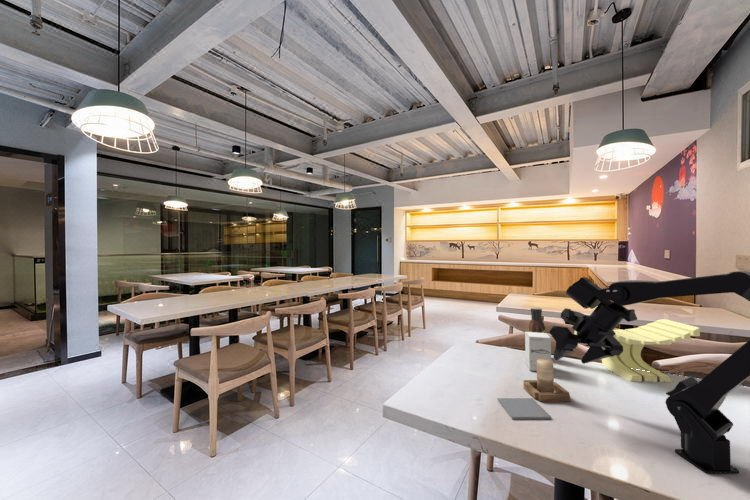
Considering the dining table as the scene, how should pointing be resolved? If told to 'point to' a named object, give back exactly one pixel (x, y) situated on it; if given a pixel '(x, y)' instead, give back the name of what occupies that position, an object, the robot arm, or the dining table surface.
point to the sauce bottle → (536, 321)
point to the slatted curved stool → (635, 341)
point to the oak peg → (545, 375)
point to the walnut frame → (556, 396)
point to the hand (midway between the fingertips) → (568, 360)
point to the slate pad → (523, 408)
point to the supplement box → (536, 348)
